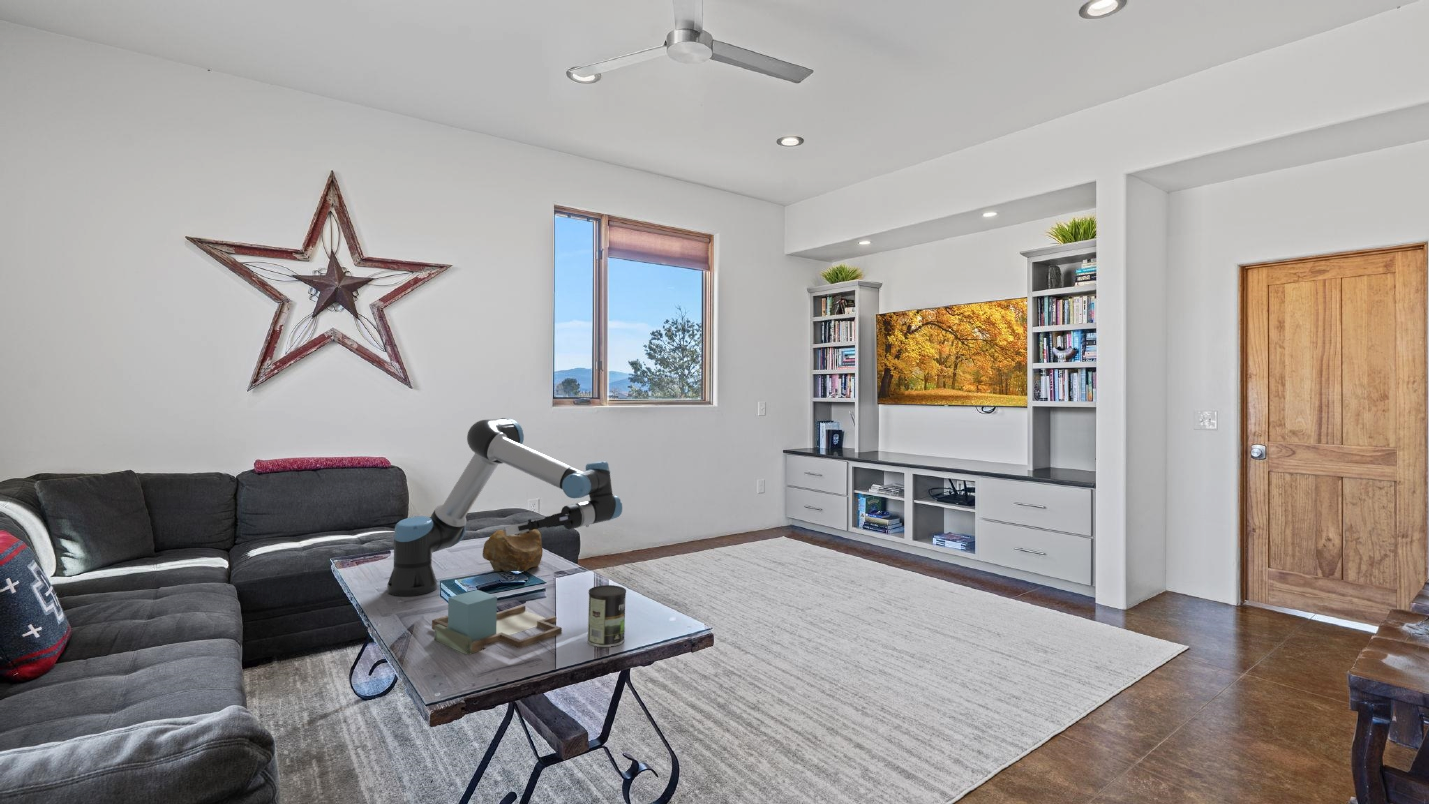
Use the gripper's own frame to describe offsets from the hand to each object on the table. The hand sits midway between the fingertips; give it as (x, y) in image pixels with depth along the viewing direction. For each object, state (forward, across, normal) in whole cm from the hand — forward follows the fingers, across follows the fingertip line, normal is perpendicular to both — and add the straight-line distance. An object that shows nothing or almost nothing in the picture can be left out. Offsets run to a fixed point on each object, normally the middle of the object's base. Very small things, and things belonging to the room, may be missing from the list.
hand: (506, 531), depth 201 cm
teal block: (+16, -2, -26) cm, 30 cm away
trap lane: (+7, 0, -27) cm, 28 cm away
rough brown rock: (-24, +54, -15) cm, 61 cm away
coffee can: (-13, -21, -36) cm, 44 cm away
